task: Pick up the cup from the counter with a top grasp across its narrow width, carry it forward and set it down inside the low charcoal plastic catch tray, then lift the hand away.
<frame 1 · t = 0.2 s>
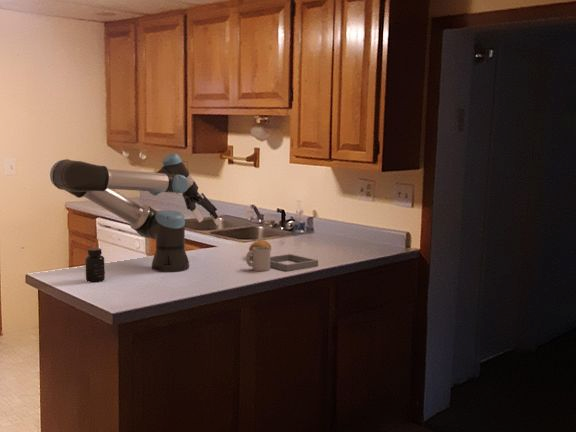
hand: (210, 222, 296), 15 cm above the worktop, fingers open, 13 cm apart
potato: (260, 258, 295), on the worktop
cup: (258, 270, 270), on the worktop
catch tray: (288, 265, 280), on the worktop
supplement bottle: (95, 281, 245), on the worktop
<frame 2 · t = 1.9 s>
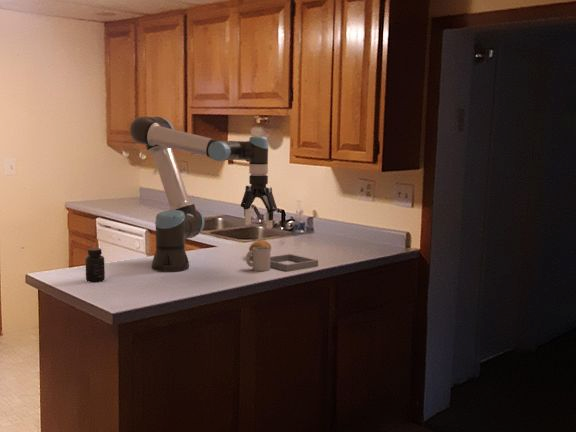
hand: (258, 226, 268), 18 cm above the worktop, fingers open, 13 cm apart
nothing on the worktop moved.
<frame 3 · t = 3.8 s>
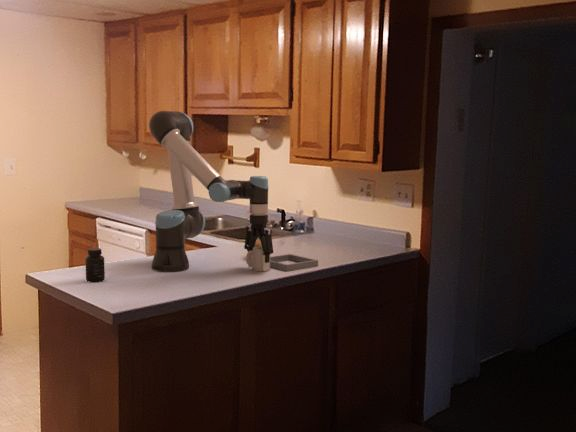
hand: (258, 268, 270), 0 cm above the worktop, fingers open, 8 cm apart
cup: (257, 269, 270), on the worktop, touching gripper
everything else where it was.
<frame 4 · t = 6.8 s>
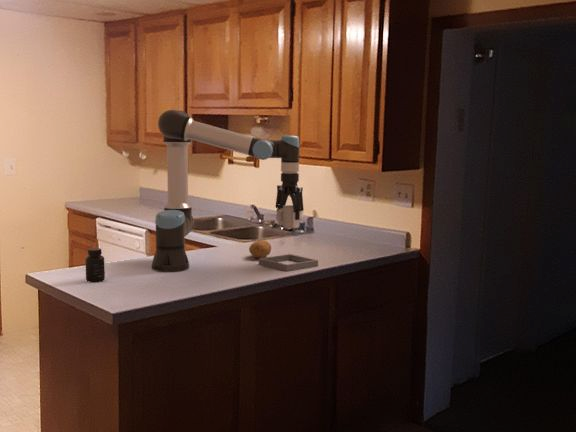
hand: (289, 226, 277), 17 cm above the worktop, fingers closed on cup, 8 cm apart
cup: (287, 227, 278), point 16 cm above the worktop, touching gripper
everything else where it was.
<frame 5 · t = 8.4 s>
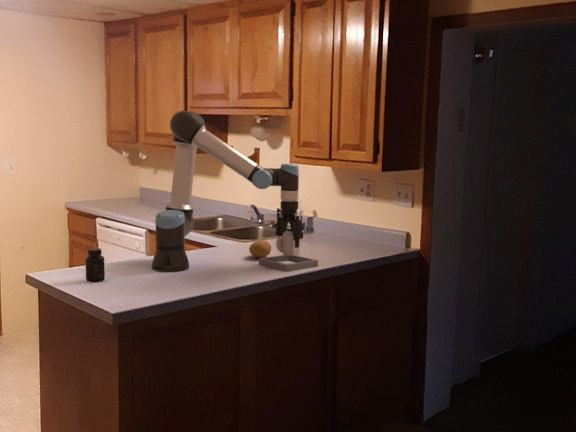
hand: (288, 253, 279), 5 cm above the worktop, fingers closed on cup, 8 cm apart
cup: (287, 254, 280), point 4 cm above the worktop, touching gripper
everything else where it was.
when the fingers open (2 cm above the worktop, at t = 9.8 s): cup drops 2 cm, resting in catch tray.
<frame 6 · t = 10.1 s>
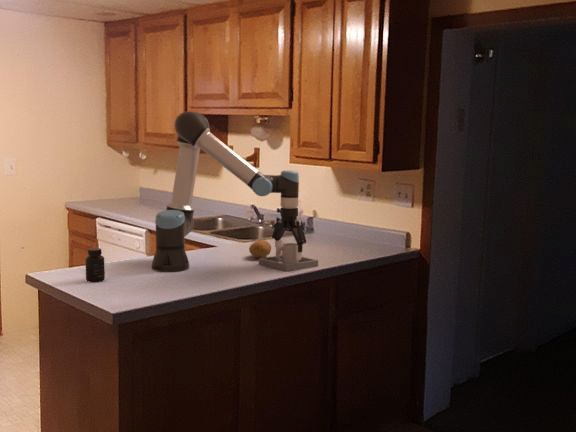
hand: (288, 257, 279), 3 cm above the worktop, fingers open, 12 cm apart
cup: (287, 265, 280), resting in catch tray
everything else where it was.
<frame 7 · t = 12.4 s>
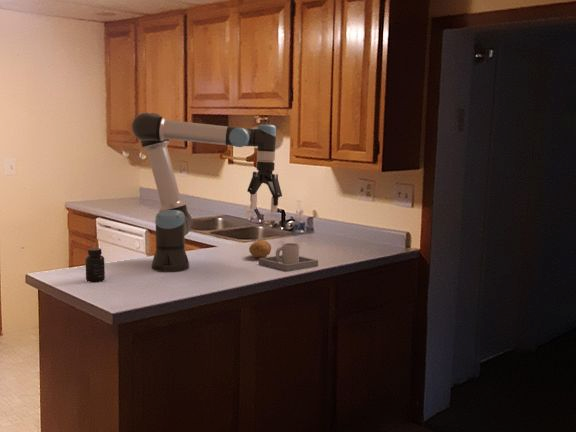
hand: (263, 211, 279), 23 cm above the worktop, fingers open, 13 cm apart
nothing on the worktop moved.
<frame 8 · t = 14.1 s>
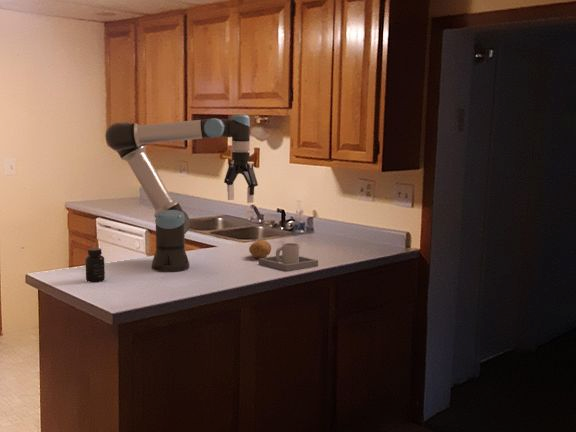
hand: (240, 201, 280), 27 cm above the worktop, fingers open, 13 cm apart
nothing on the worktop moved.
at the end: cup inside the target area (0.6 cm from its centre), resting in catch tray; cup tilted 0°; the gripper is holding nothing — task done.
